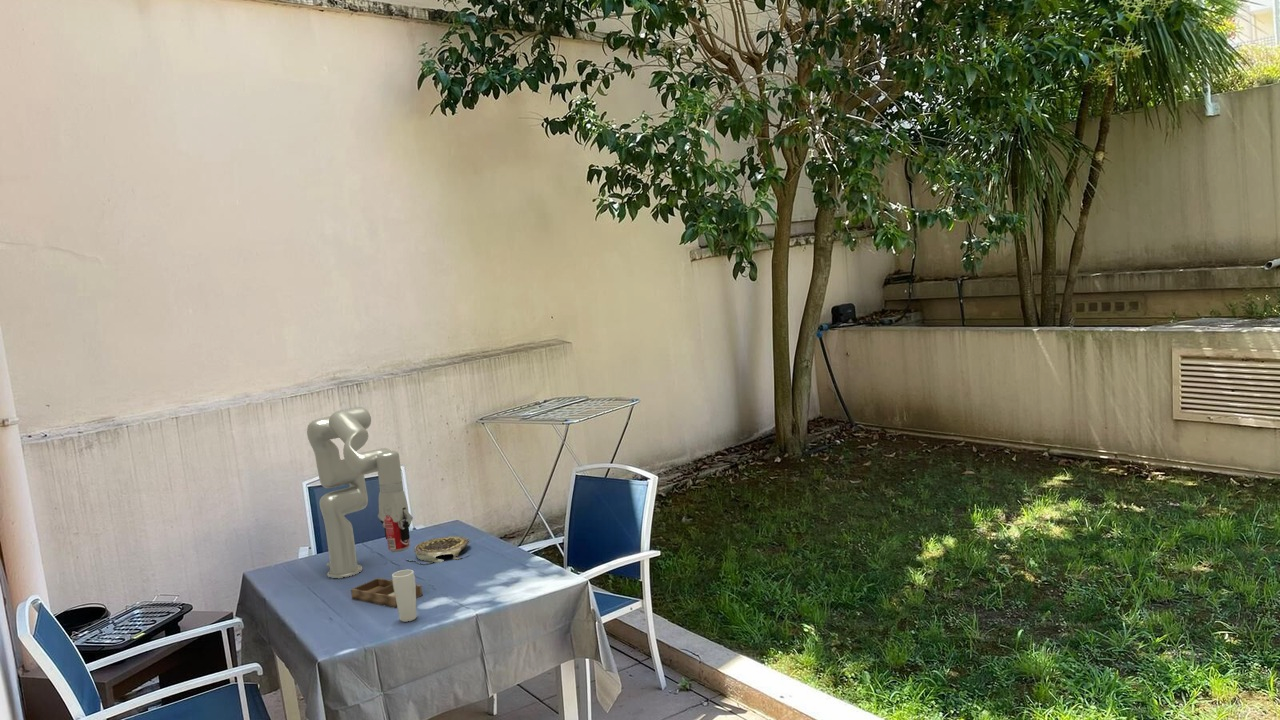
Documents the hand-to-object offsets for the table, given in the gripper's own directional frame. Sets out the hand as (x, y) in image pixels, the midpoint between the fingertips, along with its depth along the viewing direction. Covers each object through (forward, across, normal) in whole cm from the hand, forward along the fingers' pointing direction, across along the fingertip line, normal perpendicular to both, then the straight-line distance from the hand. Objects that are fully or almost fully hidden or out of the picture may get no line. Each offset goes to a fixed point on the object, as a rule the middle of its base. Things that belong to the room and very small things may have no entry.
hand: (397, 538), depth 291 cm
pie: (+21, -22, +40) cm, 50 cm away
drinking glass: (+20, +19, -15) cm, 31 cm away
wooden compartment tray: (+20, -5, -4) cm, 21 cm away
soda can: (+4, 0, 0) cm, 4 cm away
